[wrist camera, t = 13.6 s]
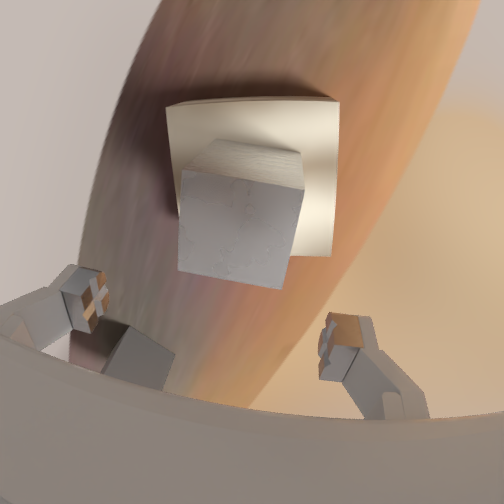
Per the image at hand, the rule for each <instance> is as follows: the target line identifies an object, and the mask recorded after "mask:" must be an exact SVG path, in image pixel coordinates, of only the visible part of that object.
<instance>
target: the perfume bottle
mask: <svg viewBox="0 0 504 504" xmlns="http://www.w3.org/2000/svg"><path fill="white" fill-rule="evenodd" d="M174 357H175V354H173V353H172V352H170V351H169V350H167V349H165V348H164V347H162V346H160V345H159V344H157V343H156V342H154V341H153V340H151V339H149V338H148V337H146V336H145V335H143V334H142V333H140V332H139V331H137V330H136V329H134V328H133V327H131V326H129V328H128V329H127V330H126V332H125V333H124V334H123V336H122V337H121V339H120V340H119V341H118V343H117V344H116V346H115V347H114V348H113V350H112V352H111V354H110V356H109V357H108V359H107V361H106V363H105V365H104V367H103V369H102V371H101V373H100V374H104V375H107V376H110V377H113V378H116V379H119V380H123V381H126V382H130V383H133V384H137V385H140V386H144V387H148V388H151V389H155V390H159V391H162V389H163V387H164V384H165V381H166V378H167V376H168V373H169V370H170V368H171V365H172V362H173V360H174Z"/></svg>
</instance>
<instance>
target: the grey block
mask: <svg viewBox="0 0 504 504" xmlns="http://www.w3.org/2000/svg"><path fill="white" fill-rule="evenodd" d="M304 193H305V184H304V175H303V166H302V158H301V153H299V152H294V151H289V150H284V149H279V148H273V147H267V146H261V145H255V144H249V143H243V142H236V141H229V140H222V139H215V140H214V141H212V142H211V143H210V144H209V145H208V146H207V147H206V148H205V149H204V150H203V151H201V152H200V153H199V154H198V155H197V156H196V157H195V158H194V159H193V160H192V161H191V162H190V163H189V164H187V165H186V166H185V167H184V168H183V169H182V177H181V194H180V215H179V243H178V270H179V271H184V272H189V273H194V274H199V275H204V276H210V277H215V278H220V279H225V280H230V281H236V282H241V283H247V284H252V285H257V286H263V287H268V288H274V289H280V290H282V286H283V282H284V278H285V274H286V270H287V266H288V262H289V258H290V253H291V249H292V245H293V241H294V237H295V232H296V228H297V224H298V220H299V215H300V211H301V206H302V202H303V198H304Z"/></svg>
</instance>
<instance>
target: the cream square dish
mask: <svg viewBox="0 0 504 504" xmlns="http://www.w3.org/2000/svg"><path fill="white" fill-rule="evenodd" d="M166 116H167V126H168V135H169V144H170V152H171V161H172V169H173V176H174V184H175V191H176V198H177V205H178V212H179V215H180V194H181V177H182V169H183V168H184V167H185V166H186V165H187V164H189V163H190V162H191V161H192V160H193V159H194V158H195V157H196V156H197V155H198V154H199V153H200V152H201V151H203V150H204V149H205V148H206V147H207V146H208V145H209V144H210V143H211V142H212V141H214V140H215V139H222V140H229V141H236V142H243V143H249V144H255V145H261V146H267V147H273V148H279V149H284V150H289V151H294V152H299V153H301V158H302V166H303V175H304V184H305V193H304V198H303V202H302V206H301V211H300V215H299V220H298V224H297V228H296V232H295V237H294V241H293V245H292V249H291V253H290V256H328V257H331V251H332V240H333V228H334V215H335V201H336V186H337V167H338V142H339V102H338V101H336V100H335V99H333V98H331V97H310V96H256V97H231V98H215V99H202V100H191V101H185V102H182V103H178V104H175V105H172V106H169V107H166Z"/></svg>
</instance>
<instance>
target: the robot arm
mask: <svg viewBox="0 0 504 504" xmlns="http://www.w3.org/2000/svg"><path fill="white" fill-rule="evenodd" d="M106 281H107V280H106V275H105V273H104V272H102V271H98V270H94V269H90V268H86V267H82V266H77V265H74V264H70V265H68V266H67V267H66V268H65V269H64V270H63V271H62V272H61V273H60V274H59V276H58V277H57V278H56V279H55V280H54V281H53V282H52V283H51V284H50V286H49V287H43V288H41V289H38V290H36V291H33V292H31V293H28V294H26V295H24V296H21V297H19V298H17V299H14V300H12V301H10V302H8V303H5V304H3V305H1V306H0V504H504V411H501V412H495V413H489V414H481V415H472V416H463V417H450V418H435V419H430V416H429V412H428V407H427V403H426V399H425V395H424V392H423V391H422V390H421V389H420V388H419V387H418V386H417V385H416V384H415V383H414V382H413V381H412V380H411V379H410V377H409V376H408V375H406V373H405V372H404V371H403V370H402V369H401V368H400V367H399V366H398V365H397V364H396V363H395V362H394V361H393V360H392V359H391V358H390V357H389V356H388V355H387V354H386V353H385V352H384V351H383V350H379V348H378V343H377V339H376V335H375V331H374V327H373V322H372V319H371V318H370V317H369V316H359V315H348V314H340V313H332V312H329V313H328V315H327V318H326V327H325V328H324V329H322V332H321V335H320V338H319V343H318V355H319V356H320V358H321V360H320V363H319V379H320V380H327V381H336V382H342V384H343V386H344V387H345V389H346V390H347V392H348V393H349V395H350V396H351V398H352V399H353V401H354V402H355V404H356V405H357V407H358V408H359V410H360V411H361V413H362V414H363V416H364V417H365V418H364V419H341V418H325V417H313V416H302V415H291V414H283V413H275V412H267V411H260V410H253V409H247V408H240V407H234V406H229V405H223V404H218V403H213V402H207V401H203V400H198V399H193V398H188V397H184V396H180V395H175V394H171V393H167V392H163V391H159V390H155V389H151V388H148V387H144V386H140V385H137V384H133V383H130V382H126V381H123V380H119V379H116V378H113V377H110V376H107V375H104V374H100V373H97V372H94V371H91V370H89V369H86V368H83V367H80V366H77V365H74V364H72V363H69V362H66V361H64V360H61V359H58V358H56V357H53V356H51V355H48V354H46V353H43V352H41V350H42V349H44V348H46V347H47V346H48V345H50V344H51V343H53V342H55V341H56V340H58V339H59V338H61V337H62V336H64V335H65V334H67V333H68V332H70V331H72V330H73V329H76V330H79V331H83V332H86V333H90V334H91V333H92V332H93V330H94V329H95V327H96V325H97V324H98V322H99V321H98V317H99V316H101V315H103V314H104V313H105V311H106V310H107V307H108V304H109V291H108V289H107V288H106V287H105V285H104V284H105V283H106Z"/></svg>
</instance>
